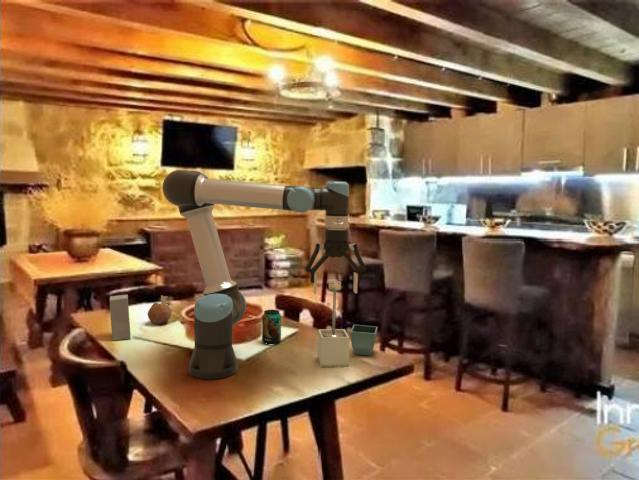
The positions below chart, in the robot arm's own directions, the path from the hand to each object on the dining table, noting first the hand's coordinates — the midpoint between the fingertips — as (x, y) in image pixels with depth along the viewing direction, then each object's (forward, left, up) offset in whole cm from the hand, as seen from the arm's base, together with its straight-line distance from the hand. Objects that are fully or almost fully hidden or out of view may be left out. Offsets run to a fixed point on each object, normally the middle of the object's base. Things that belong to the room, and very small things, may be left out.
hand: (335, 292), depth 159 cm
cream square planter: (0, 0, -24) cm, 24 cm away
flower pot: (+12, +9, -24) cm, 28 cm away
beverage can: (-20, +22, -24) cm, 38 cm away
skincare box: (-77, +31, -24) cm, 87 cm away
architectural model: (-68, +71, -25) cm, 101 cm away
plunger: (0, 0, -15) cm, 15 cm away
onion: (-66, +49, -24) cm, 86 cm away
